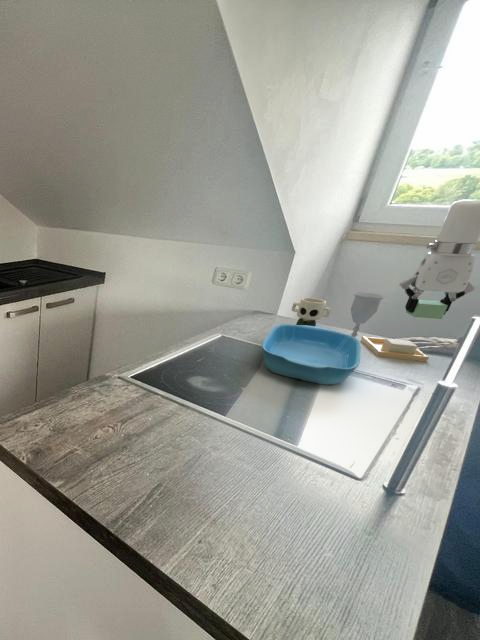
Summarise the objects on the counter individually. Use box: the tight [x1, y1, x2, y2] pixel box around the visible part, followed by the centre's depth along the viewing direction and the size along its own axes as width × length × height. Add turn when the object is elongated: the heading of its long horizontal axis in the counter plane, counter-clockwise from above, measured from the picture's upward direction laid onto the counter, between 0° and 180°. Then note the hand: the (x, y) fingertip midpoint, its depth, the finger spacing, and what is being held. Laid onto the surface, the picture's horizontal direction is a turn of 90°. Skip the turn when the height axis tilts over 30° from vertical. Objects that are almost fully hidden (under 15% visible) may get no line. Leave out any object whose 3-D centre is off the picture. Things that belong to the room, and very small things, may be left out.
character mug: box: [291, 297, 332, 327], centre depth 137 cm, size 11×7×13 cm, turn 42°
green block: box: [405, 299, 448, 320], centre depth 112 cm, size 6×5×4 cm
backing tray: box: [360, 335, 430, 363], centre depth 124 cm, size 12×15×2 cm
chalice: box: [350, 291, 385, 338], centre depth 125 cm, size 7×7×18 cm
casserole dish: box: [261, 323, 362, 386], centre depth 116 cm, size 37×22×7 cm, turn 139°
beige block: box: [381, 337, 418, 355], centre depth 121 cm, size 6×5×4 cm
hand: (424, 311), depth 112 cm, fingers closed on green block, 6 cm apart
